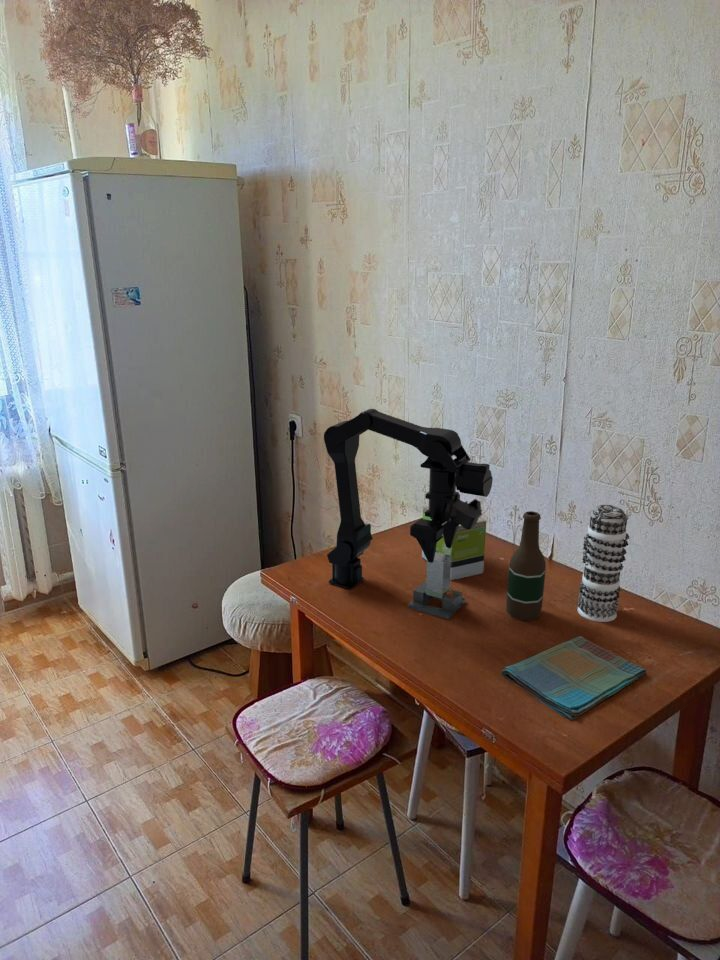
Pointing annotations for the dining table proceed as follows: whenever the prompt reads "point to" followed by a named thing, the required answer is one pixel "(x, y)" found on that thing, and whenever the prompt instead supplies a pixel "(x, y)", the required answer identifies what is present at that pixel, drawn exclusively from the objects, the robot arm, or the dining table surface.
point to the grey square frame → (449, 601)
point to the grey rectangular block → (438, 575)
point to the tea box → (464, 549)
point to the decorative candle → (603, 563)
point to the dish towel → (573, 676)
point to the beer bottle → (527, 573)
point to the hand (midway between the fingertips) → (439, 554)
